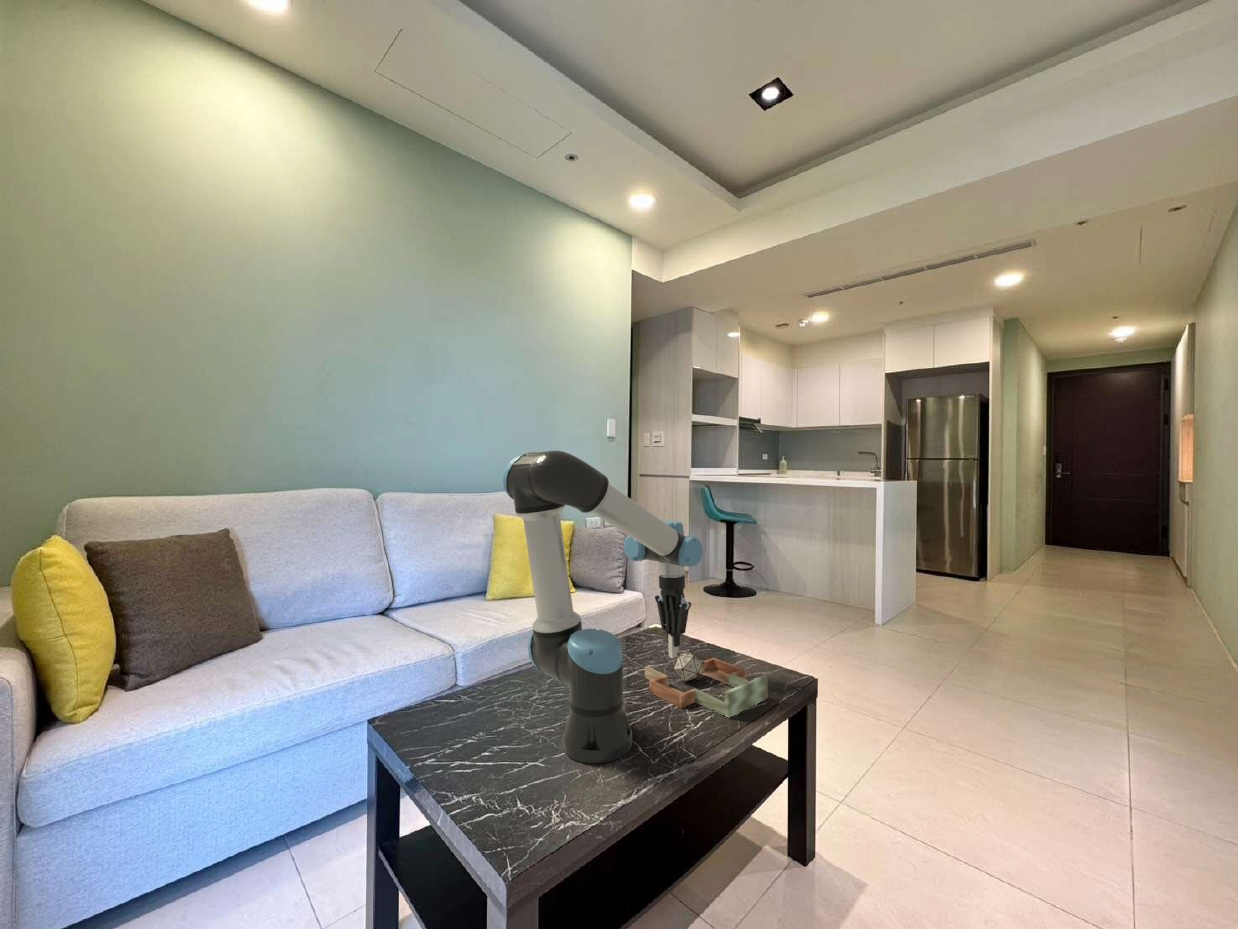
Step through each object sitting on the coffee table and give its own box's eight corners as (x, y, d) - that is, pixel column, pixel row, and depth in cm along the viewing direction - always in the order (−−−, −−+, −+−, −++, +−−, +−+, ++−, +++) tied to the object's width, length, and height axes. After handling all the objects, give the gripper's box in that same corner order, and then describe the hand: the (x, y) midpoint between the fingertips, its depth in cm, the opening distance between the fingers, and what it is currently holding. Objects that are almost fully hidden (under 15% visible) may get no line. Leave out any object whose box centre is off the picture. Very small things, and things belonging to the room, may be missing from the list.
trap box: (714, 725, 115) (713, 699, 115) (631, 682, 140) (630, 660, 140) (779, 694, 130) (779, 671, 130) (694, 660, 154) (693, 640, 155)
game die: (694, 695, 139) (709, 674, 133) (666, 685, 138) (679, 664, 133) (695, 668, 146) (708, 647, 141) (668, 658, 146) (680, 637, 141)
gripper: (697, 576, 141) (699, 659, 141) (666, 569, 151) (668, 647, 151) (678, 580, 136) (680, 666, 136) (647, 573, 147) (649, 653, 146)
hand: (673, 656), depth 143 cm, fingers closed
